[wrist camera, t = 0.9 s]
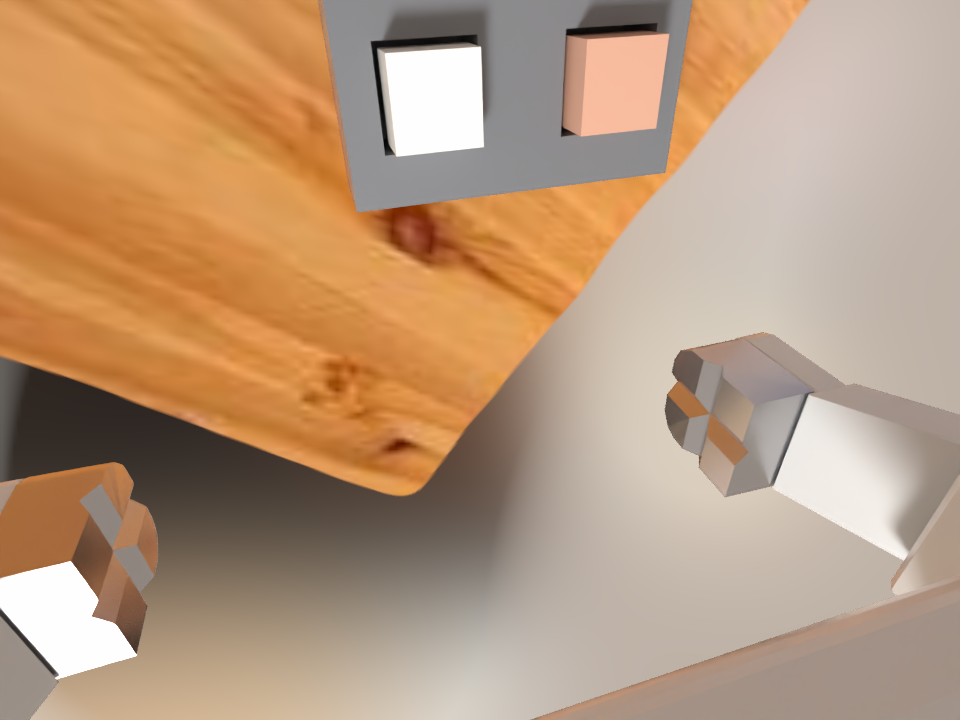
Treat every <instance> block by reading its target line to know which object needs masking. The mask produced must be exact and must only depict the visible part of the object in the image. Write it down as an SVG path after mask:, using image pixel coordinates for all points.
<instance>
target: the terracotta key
mask: <svg viewBox="0 0 960 720" xmlns="http://www.w3.org/2000/svg"><path fill="white" fill-rule="evenodd" d="M668 40H669V34H667V33H660V32H653V31H645V30H635V31H620V32H605V33H590V34H575V35H566V40H565V61H564V81H563V102H562V123H561V126H562V127H563V128H565V129H567V130H569V131H571V132H573V133H575V134H577V135H579V136H591V135H600V134H609V133H618V132H627V131H636V130H645V129H655V128H656V126H657V118H658V111H659V104H660V97H661V90H662V83H663V76H664V69H665V62H666V55H667V47H668Z"/></svg>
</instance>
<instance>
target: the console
mask: <svg viewBox="0 0 960 720" xmlns="http://www.w3.org/2000/svg"><path fill="white" fill-rule="evenodd" d="M318 4H319V10H320V16H321V22H322V28H323V34H324V40H325V46H326V52H327V58H328V64H329V70H330V76H331V82H332V88H333V94H334V100H335V106H336V112H337V118H338V124H339V130H340V136H341V142H342V148H343V154H344V160H345V166H346V172H347V178H348V184H349V189H350V192H351V195H352V198H353V201H354V204H355V207H356V210H357V212H364V211H372V210H380V209H388V208H395V207H403V206H411V205H419V204H427V203H434V202H442V201H450V200H458V199H465V198H473V197H481V196H489V195H496V194H504V193H512V192H520V191H527V190H535V189H543V188H551V187H558V186H566V185H574V184H582V183H589V182H597V181H605V180H613V179H620V178H628V177H636V176H644V175H651V174H659V173H665V172H666V166H667V159H668V153H669V147H670V140H671V134H672V128H673V121H674V115H675V108H676V102H677V96H678V89H679V83H680V76H681V70H682V64H683V57H684V51H685V45H686V38H687V32H688V25H689V19H690V13H691V6H692V0H318ZM635 30H645V31H653V32H660V33H667V34H669V40H668V47H667V55H666V62H665V69H664V76H663V83H662V90H661V97H660V104H659V111H658V118H657V126H656V128H655V129H645V130H636V131H627V132H618V133H609V134H600V135H591V136H579V135H577V134H575V133H573V132H571V131H569V130H567V129H565V128H563V127H562V126H561V123H562V102H563V81H564V61H565V40H566V35H575V34H590V33H605V32H620V31H635ZM454 42H468V43H471V44H474V45H477V46H480V47H481V62H482V99H483V136H484V147H481V148H471V149H462V150H453V151H444V152H435V153H426V154H417V155H407V156H398V157H397V156H396V155H395V153H394V152H393V150H392V149H391V147H390V146H389V144H388V136H387V128H386V120H385V111H384V103H383V95H382V87H381V78H380V70H379V62H378V54H377V48H379V47H394V46H409V45H424V44H439V43H454Z"/></svg>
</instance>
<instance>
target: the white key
mask: <svg viewBox="0 0 960 720" xmlns="http://www.w3.org/2000/svg"><path fill="white" fill-rule="evenodd" d="M377 54H378V62H379V70H380V78H381V87H382V95H383V103H384V111H385V120H386V128H387V136H388V144H389V146H390V147H391V149H392V150H393V152H394V153H395V155H396V156H397V157H398V156H407V155H417V154H426V153H435V152H444V151H453V150H462V149H471V148H481V147H484V136H483V99H482V62H481V47H480V46H477V45H474V44H471V43H468V42H454V43H439V44H424V45H409V46H394V47H379V48H377Z"/></svg>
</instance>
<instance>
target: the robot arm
mask: <svg viewBox="0 0 960 720" xmlns="http://www.w3.org/2000/svg"><path fill="white" fill-rule="evenodd" d="M672 373H673V375H674V376H675V378H676V379H677V381H678V382H677V383H676V384H675V385H674V387H673V388H672V389H671V390H670V392H669V393H668V394H667V399H666V405H665V415H666V420H667V425H668V428H669V430H670V431H671V433H672V436H673V438H674V439H675V440H676V441H677V443H678V444H679V445H680V446H681V447H682V448H683V449H685V450H687V451H689V452H691V453H694V454H696V455H698V456H699V468H700V469H701V470H702V471H703V473H704V474H705V475H706V476H707V477H708V478H709V480H710V481H711V482H712V483H713V484H714V485H715V486H716V488H717V489H718V490H719V491H720V492H721V493H722V494H723V495H724V497H728V496H732V495H736V494H741V493H745V492H749V491H753V490H758V489H761V488H766V487H770V486H773V489H774V490H776V491H778V492H780V493H782V494H783V495H785V496H787V497H789V498H791V499H792V500H794V501H796V502H798V503H800V504H801V505H803V506H805V507H807V508H809V509H811V510H812V511H814V512H816V513H818V514H820V515H821V516H823V517H825V518H827V519H829V520H831V521H832V522H834V523H836V524H838V525H840V526H841V527H843V528H845V529H847V530H849V531H851V532H852V533H854V534H856V535H858V536H860V537H861V538H863V539H865V540H867V541H869V542H871V543H872V544H874V545H876V546H878V547H880V548H881V549H883V550H885V551H887V552H889V553H890V554H892V555H894V556H896V557H898V558H900V559H901V560H904V561H903V563H902V564H901V566H900V568H899V569H898V571H897V572H896V574H895V575H894V577H893V579H892V580H891V590H892V591H893V592H894V593H895V594H896V596H894V597H891V598H888V599H885V600H882V601H880V602H876V603H873V604H871V605H868V606H865V607H862V608H859V609H856V610H853V611H850V612H847V613H844V614H841V615H838V616H835V617H832V618H829V619H827V620H823V621H821V622H818V623H814V624H811V625H809V626H806V627H803V628H800V629H797V630H794V631H791V632H788V633H785V634H782V635H779V636H776V637H773V638H770V639H767V640H764V641H762V642H758V643H755V644H753V645H750V646H747V647H744V648H741V649H738V650H735V651H732V652H729V653H726V654H723V655H720V656H717V657H714V658H711V659H708V660H705V661H702V662H699V663H697V664H693V665H690V666H688V667H685V668H682V669H679V670H676V671H673V672H670V673H667V674H664V675H661V676H658V677H655V678H652V679H649V680H646V681H643V682H640V683H637V684H635V685H631V686H629V687H626V688H623V689H620V690H617V691H614V692H611V693H608V694H605V695H602V696H599V697H596V698H593V699H590V700H587V701H585V702H581V703H578V704H575V705H573V706H570V707H567V708H564V709H561V710H558V711H555V712H552V713H549V714H546V715H543V716H540V717H537V718H534V719H531V720H960V415H959V414H955V413H952V412H949V411H945V410H942V409H939V408H935V407H932V406H928V405H925V404H922V403H918V402H915V401H911V400H908V399H905V398H901V397H898V396H895V395H891V394H888V393H884V392H881V391H878V390H874V389H870V388H868V387H864V386H861V385H857V384H851V385H845V384H844V383H842V382H840V381H839V380H838V379H836V378H835V377H833V376H832V375H831V374H829V373H828V372H826V371H825V370H823V369H822V368H820V367H819V366H818V365H816V364H815V363H813V362H812V361H811V360H809V359H808V358H806V357H805V356H803V355H802V354H800V353H799V352H797V351H796V350H795V349H793V348H792V347H790V346H789V345H788V344H786V343H785V342H783V341H782V340H780V339H779V338H778V337H776V336H775V335H772V334H768V333H764V332H762V333H758V334H753V335H749V336H744V337H740V338H736V339H735V340H730V341H725V342H721V343H716V344H711V345H706V346H701V347H696V348H691V349H686V350H681V351H680V352H679V354H678V355H677V357H676V358H675V360H674V365H673V369H672ZM133 485H134V483H133V481H132V479H131V478H130V476H129V474H128V472H127V471H126V469H125V467H124V466H123V465H121V464H118V463H115V462H112V463H106V464H100V465H95V466H89V467H84V468H79V469H72V470H66V471H61V472H55V473H50V474H44V475H38V476H33V477H28V478H26V479H18V480H13V481H8V482H2V483H0V720H30V719H31V717H32V716H33V715H34V713H35V712H36V711H37V710H38V708H39V707H40V706H41V704H42V703H43V702H44V700H45V699H46V698H47V697H48V695H49V694H50V693H51V691H52V690H53V689H54V688H55V686H56V685H57V684H58V680H57V678H60V677H64V676H67V675H70V674H74V673H77V672H81V671H84V670H87V669H91V668H94V667H98V666H101V665H104V664H108V663H111V662H115V661H118V660H122V659H125V658H128V657H131V656H135V655H136V654H137V650H138V645H139V641H140V637H141V633H142V628H143V624H144V620H145V615H146V611H147V604H146V603H145V601H144V600H143V598H142V596H141V594H140V593H139V592H140V591H141V590H142V589H143V588H144V587H145V586H146V585H147V583H148V582H149V581H150V580H151V579H152V578H153V577H154V575H155V570H156V565H157V560H158V540H157V532H156V529H155V525H154V522H153V519H152V517H151V515H150V513H149V511H148V509H147V507H146V506H144V505H142V504H140V503H137V502H135V501H133V500H131V499H129V498H130V495H131V491H132V488H133Z"/></svg>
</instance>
